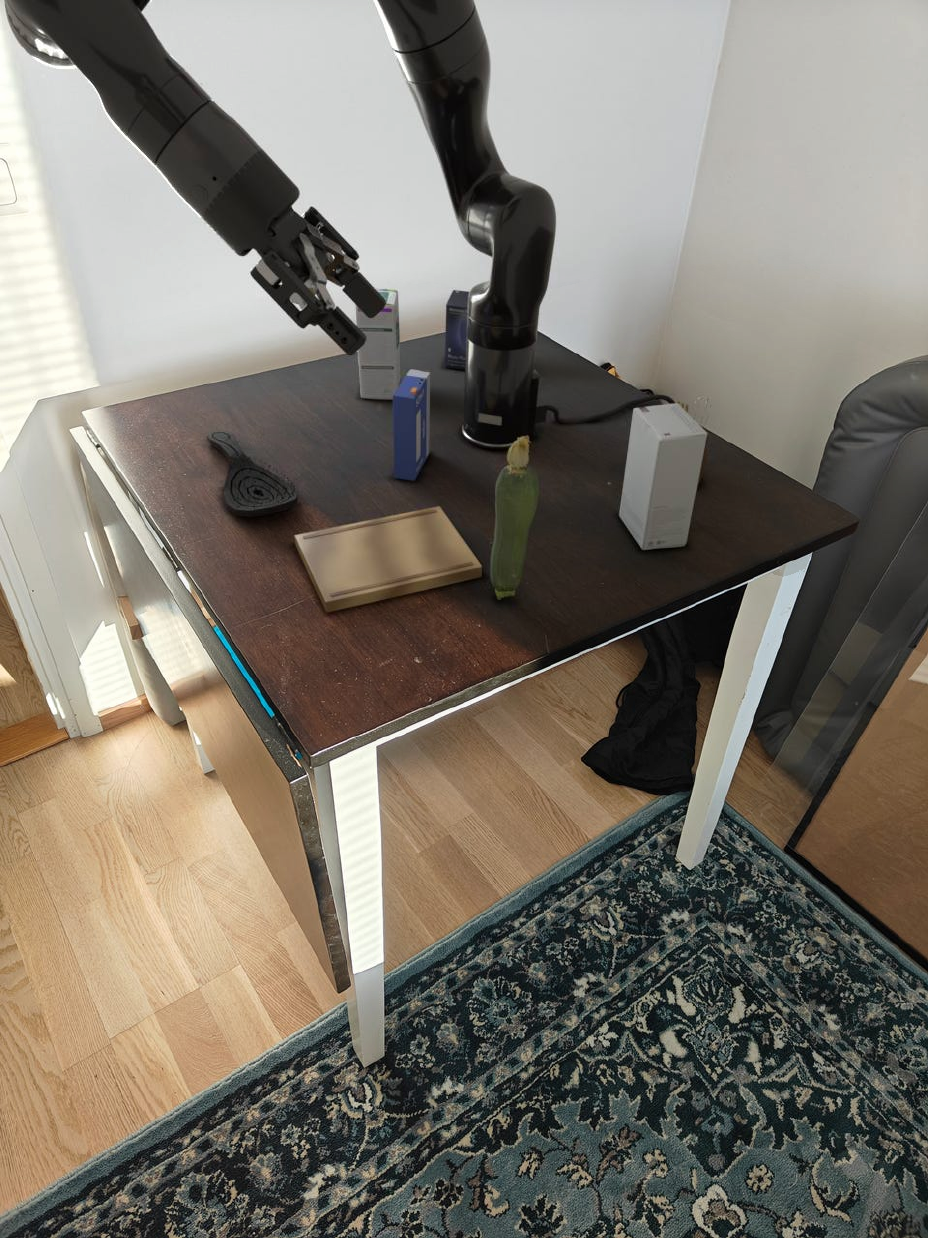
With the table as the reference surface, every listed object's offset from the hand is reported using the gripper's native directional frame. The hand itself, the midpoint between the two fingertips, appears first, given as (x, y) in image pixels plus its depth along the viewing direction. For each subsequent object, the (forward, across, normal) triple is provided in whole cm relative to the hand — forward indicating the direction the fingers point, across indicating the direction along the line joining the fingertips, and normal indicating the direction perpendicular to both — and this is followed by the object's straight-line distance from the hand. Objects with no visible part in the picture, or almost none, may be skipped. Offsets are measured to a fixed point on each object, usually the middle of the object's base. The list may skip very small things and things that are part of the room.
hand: (369, 328), depth 78 cm
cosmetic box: (+42, +15, -1) cm, 45 cm away
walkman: (+20, +25, +21) cm, 38 cm away
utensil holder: (+45, +28, -4) cm, 53 cm away
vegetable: (+31, 0, +10) cm, 32 cm away
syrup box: (+14, +46, +27) cm, 55 cm away
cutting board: (+20, +4, +20) cm, 29 cm away
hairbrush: (+6, +18, +35) cm, 40 cm away
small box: (+24, +58, +17) cm, 65 cm away
